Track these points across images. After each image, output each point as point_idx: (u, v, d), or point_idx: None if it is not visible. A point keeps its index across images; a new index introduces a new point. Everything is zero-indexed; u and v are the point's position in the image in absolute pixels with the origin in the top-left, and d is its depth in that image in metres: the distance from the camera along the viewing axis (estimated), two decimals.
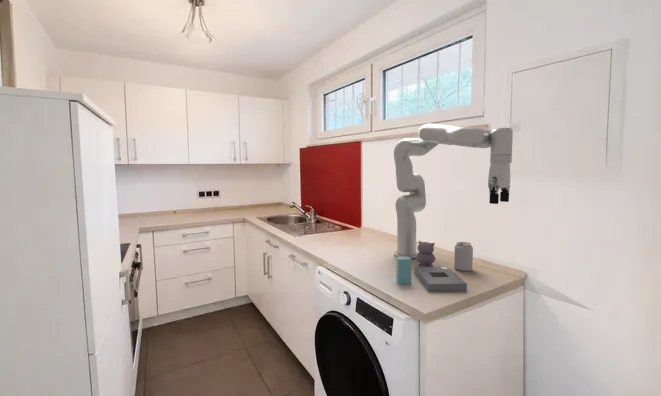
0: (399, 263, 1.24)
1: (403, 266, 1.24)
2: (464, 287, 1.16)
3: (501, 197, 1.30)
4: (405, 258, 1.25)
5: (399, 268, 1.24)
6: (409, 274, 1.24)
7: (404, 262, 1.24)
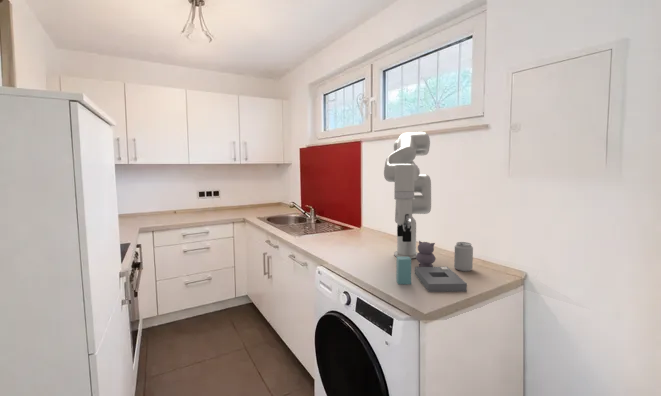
0: (399, 263, 1.24)
1: (403, 266, 1.24)
2: (464, 287, 1.16)
3: (399, 232, 1.29)
4: (405, 258, 1.25)
5: (399, 268, 1.24)
6: (409, 274, 1.24)
7: (404, 262, 1.24)
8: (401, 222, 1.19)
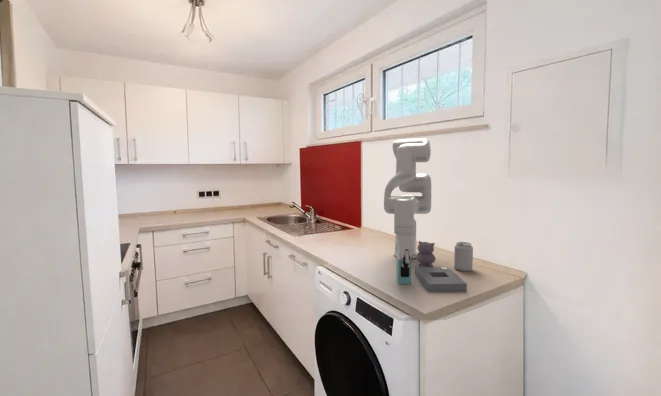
0: (399, 263, 1.24)
1: None
2: (464, 287, 1.16)
3: None
4: None
5: (399, 268, 1.24)
6: (409, 274, 1.24)
7: None
8: (401, 257, 1.21)
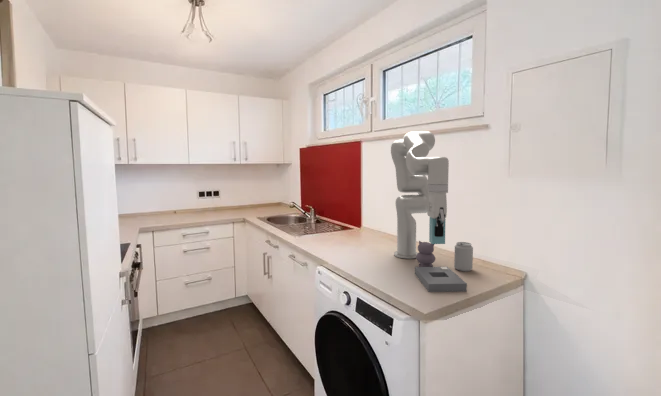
0: (433, 222, 1.22)
1: None
2: (464, 287, 1.16)
3: None
4: None
5: (433, 228, 1.22)
6: (443, 234, 1.23)
7: None
8: (435, 215, 1.19)
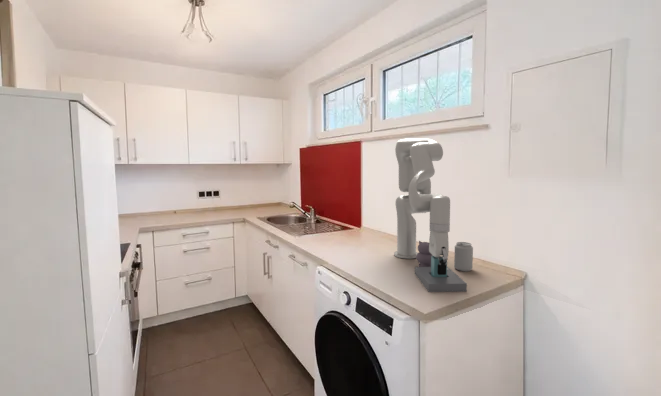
0: (435, 262, 1.24)
1: None
2: (464, 287, 1.16)
3: None
4: None
5: (435, 268, 1.24)
6: None
7: None
8: (437, 254, 1.20)
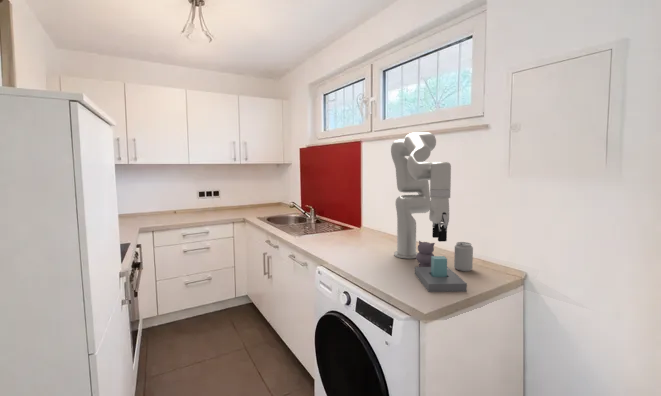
0: (435, 262, 1.24)
1: (439, 266, 1.24)
2: (464, 287, 1.16)
3: (434, 233, 1.28)
4: (441, 258, 1.25)
5: (435, 268, 1.24)
6: (444, 274, 1.24)
7: (440, 262, 1.24)
8: (438, 220, 1.19)
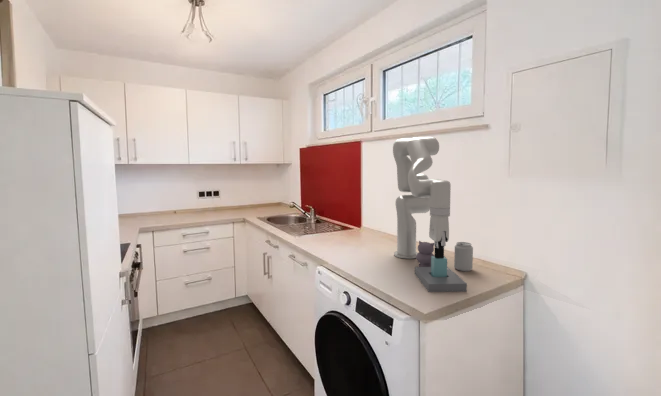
0: (435, 263, 1.24)
1: (439, 266, 1.24)
2: (464, 287, 1.16)
3: None
4: (441, 258, 1.25)
5: (435, 268, 1.24)
6: (444, 274, 1.24)
7: (440, 262, 1.24)
8: (438, 239, 1.20)
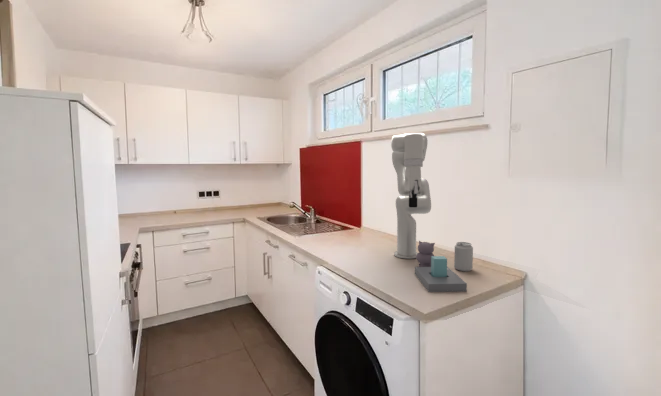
0: (435, 263, 1.24)
1: (439, 266, 1.24)
2: (464, 287, 1.16)
3: None
4: (441, 258, 1.25)
5: (435, 268, 1.24)
6: (444, 274, 1.24)
7: (440, 262, 1.24)
8: (411, 187, 1.28)
